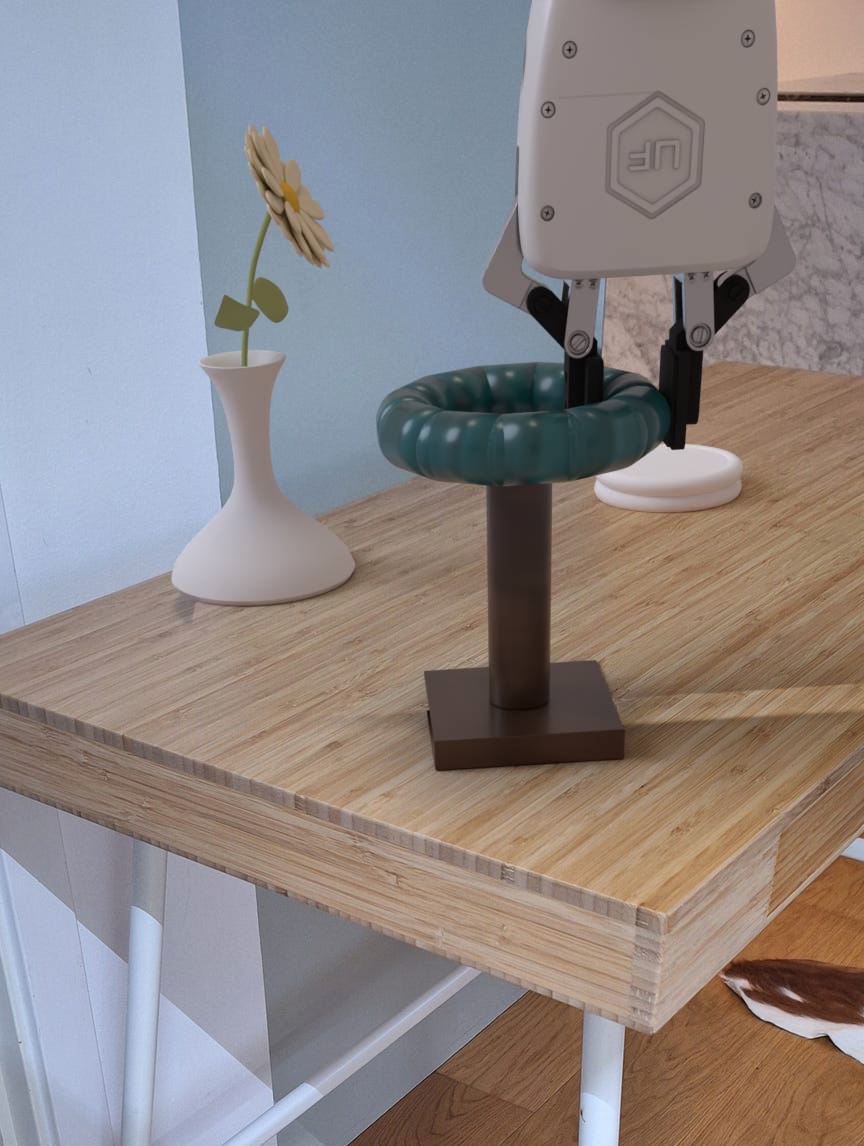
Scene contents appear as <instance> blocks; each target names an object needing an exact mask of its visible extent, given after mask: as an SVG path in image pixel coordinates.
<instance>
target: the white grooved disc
mask: <svg viewBox="0 0 864 1146" xmlns="http://www.w3.org/2000/svg"><path fill="white" fill-rule="evenodd" d="M743 472H744V465H743V461H742V460H741V459H740V458H739V457H738V456H737V455H736V454H735V453H733V452H731V451H729V450H726V449H723V448H718V447H714V446H708V445H701V444H693V443H685V448H684V449H683V450H671V448H670V447H667V446H666V445H665V444H664V443H661V444H660V445H659V446H658V447H656V448H655V449H654V450H652V451H651V452H650V453H648V454H647V455H646V456H644V457H643V458H641V459H640V460H639V461H637V462H636V463H634V464H633V465H631V466H630V467H628V468H625V469H622V470H618V471H613V472H609V473H605V474H601V475H597V476H595V479H596V480H595V483H594V485H593V490H594V495H595V497H596V498H597V499H598V500H599V501H600V502H602V503H604V504H605V505H608V506H611V507H615V508H618V509H622V510H627V511H634V512H643V513H657V514H659V513H661V514H665V513H666V514H667V513H668V514H669V513H673V514H674V513H687V512H688V513H689V512H697V511H704V510H709V509H713V508H717V507H720V506H723V505H727V504H728V503H730V502H732V501H734V500H735V499H737V497H738V496H739V495H740V494H741V490H742V488H743V484H742V480H741V477H742V475H743Z"/></svg>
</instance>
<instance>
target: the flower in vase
mask: <svg viewBox="0 0 864 1146" xmlns="http://www.w3.org/2000/svg"><path fill="white" fill-rule="evenodd" d="M247 128H248V132H245V133H244V142H245V145H244V148H243V149H244V153H245V156H246V158H247V161H248V162H247V166H248V169H249V172H250V174H251V175H252V178H253V180H254V181H255V185H256V188H257V190H258V192H259V194H260V197H261V198H262V199H263V201H264V202H265V203H266V209H267V210H266V213H265V215H264V218H263V221H262V223H261V227H260V229H259V232H258V236H257V239H256V243H255V246H254V249H253V252H252V256H251V261H250V266H249V273H248V280H247V290H246V299H245V304H244V303H241V302H239V301H237V300H235V299H233V298H232V297H231V296H229V295H227V294H223V297H222V299H221V303H220V306H219V308H218V311H217V314H216V317H215V319H214V322H213V323H214V326H215V327H217V328H220V329H225V330H230V331H234V332H242V337H241V350H233V351H226V352H219V353H215V354H211V355H208V356H204V357H203V358H201V359H199V360H198V365H199V367H200V369H202V371H203V372H204V373H205V374H206V376H207V377H208V378H209V380H210V381H211V383H212V384H213V386H214V388H215V390H216V392H217V394H218V396H219V399H220V401H221V404H222V407H223V411H224V413H225V416H226V421H227V426H228V431H229V435H230V442H231V449H232V455H233V456H232V458H233V471H234V472H233V486H232V489H231V493H230V496H229V498H228V499H227V500H226V503H225V504H224V506H222V508H220V510H219V511H218V512H217V513H216V514H215V515H214V516H213V517H212V518H211V520H209V521H208V522H207V523H206V524H205V525H204V527H202V528H201V529H200V531H198V532H197V534H196V535H195V536H194V537H193V538H192V539H191V540H190V541H189V542H188V543H187V544H186V546H185V547H184V548H183V550H182V552H180V554H179V556H178V557H177V558H176V560H175V562H174V564H173V568H172V572H171V576H170V577H171V583H172V585H173V586H174V587H175V588H176V590H177V591H178V593H180V595H182V597H184V598H185V599H186V600H188V601H191V602H193V603H197V602H201V603H206V604H212V605H217V606H230V607H231V606H233V607H256V606H257V607H258V606H269V605H278V604H286V603H292V602H298V601H302V600H306V599H310V598H314V597H317V596H320V595H323V594H325V593H328V592H331V591H333V590H335V589H337V588H339V587H340V586H342V585H343V584H345V583H346V582H347V581H348V580H349V579H350V578H351V576H352V575H353V573H354V571H355V568H356V562H355V560H354V557H353V556H352V553H351V551H350V549H349V547H348V546H347V545H346V544H345V543H344V542H343V541H342V540H341V539H340V538H339V537H338V536H337V535H336V534H335V533H334V532H333V531H331V530H330V529H329V528H328V527H326V526H325V525H323V524H322V523H321V522H319V521H318V520H317V519H315V518H314V517H312V516H311V515H310V514H308V513H307V512H306V511H303V510H302V509H301V508H300V507H298V506H297V505H296V504H294V503H293V502H292V501H291V500H290V499H288V498H287V497H286V495H285V494H284V493H283V492H282V491H281V489H280V487H279V485H278V483H277V481H276V477H275V473H274V470H273V462H272V454H271V440H270V439H271V437H270V418H271V417H270V415H271V405H272V394H273V391H274V387H275V384H276V383H275V382H276V380H277V377H278V375H279V372H280V371H281V369H282V367H283V365H284V363H285V361H286V359H287V355H286V354H285V353H284V352H281V351H276V350H270V349H269V350H268V349H249V334H250V328H251V327H252V326H253V325H254V324H255V322H256V321H257V319H258V318H259V316H260V314H261V313H262V314H263V316H265V317H266V318H267V319H268V321H269V320H270V321H271V322H272V323H274V324H278V323H281V322H282V321H284V320H285V318H286V317H287V316H288V313H289V304H288V302H287V299H286V297H285V295H284V292H283V291H282V290H281V288H280V287H279V286H278V284H277V285H276V283H274V282H273V281H271V280H270V279H268V278H266V277H263V276H258V277H257V278H256V279H255V277H256V271H257V266H258V261H259V258H260V255H261V251H262V247H263V245H264V240H265V238H266V235H267V232H268V229H269V226H270V224H271V221H273V222H274V223H275V224H276V225H277V227H278V228H279V231H280V232H281V234H282V235H283V236H284V238H285V239H286V240H287V241H288V242H289V244H290V246H291V247H292V249H293V250H294V252H295V253H296V254H297V255H298V256H299V257H300V258H303V257H304V259H305V260H306V262H308V263H309V264H310V265H311V266H314V265H315V266H316V267H317V268H319V269H323V266H325V267H326V268H330V267H331V266H330V262H329V260H328V259H327V257H326V254H325V251H326V250H327V251H329V252H332V253H333V252H335V246H334V244H333V242H332V240H331V239H330V237H329V235H328V232H327V231H326V230H325V228H324V227H323V226H322V225H321V224H319V222H318V221H323V220H324V218H325V212H324V210H323V207H321V206H322V205H320V204H319V202H317V201H316V200H315V199H313V198H312V196H311V193H310V191H309V189H308V188H307V187H306V186H305V185H304V184H301V183H302V171H301V169H300V166H299V164H298V163H297V162H296V160H295V159H293V158H289V159H288V160H287V161H286V162H285V161H284V160H281V155H280V150H279V147H278V144H277V142H276V141H275V139H274V137H273V134H272V132H271V130H270V129H269V128H268V126H266V125H264V126H263V127H262V131H261V132H262V133H261V134H259V133H258V130H257V128H256V127H255V125H254V124H252V123H249V124H248V127H247ZM253 301H254V303H255V305H256V307H257V309H256V308H254V307H252V305H253ZM258 309H259V310H258Z"/></svg>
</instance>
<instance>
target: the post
mask: <svg viewBox="0 0 864 1146" xmlns="http://www.w3.org/2000/svg"><path fill="white" fill-rule="evenodd" d="M485 493H486V496H485V497H486V501H485V502H486V562H487V563H486V576H487V577H486V578H487V581H486V582H487V642H488V643H487V645H488V647H487V651H488V653H487V655H488V657H487V659H488V663H487V664H488V666H480V667H478V666H477V667H465V668H464V667H463V668H451V669H450V668H447V669H446V668H445V669H433V670H431V669H430V670H423V678H424V684H425V691H426V698H427V706H428V709H426V715H427V716H426V717H427V721H428V722H427V723H428V730H429V737H430V745H431V750H432V751H431V752H432V758H433V764H434V770H435V771H445V770H461V769H473V768H474V769H475V768H476V769H477V768H478V769H479V768H491V767H508V766H509V767H510V766H525V765H538V764H539V765H540V764H541V765H542V764H556V763H569V762H570V763H571V762H573V763H574V762H587V761H602V760H603V761H604V760H619V759H624V757H625V740H626V739H625V737H626V736H625V735H626V729H625V726H624V724H623V722H622V719H621V716H620V715H619V712H618V710H617V707H616V704H615V703H614V700H613V697H612V695H611V693H610V690H609V687H608V686H607V683H606V680H605V678H604V676H603V674H602V671H601V669H600V666H599V664H598V661H597V659H591V660H590V659H589V660H588V659H587V660H574V661H557V662H556V661H555V662H551V640H552V639H551V633H552V632H551V631H552V630H551V628H552V623H551V622H552V555H553V554H552V552H553V549H552V548H553V547H552V546H553V543H552V542H553V483H548V484H533V485H518V486H486V485H485Z"/></svg>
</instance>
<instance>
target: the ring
mask: <svg viewBox="0 0 864 1146" xmlns="http://www.w3.org/2000/svg"><path fill="white" fill-rule="evenodd" d="M563 392H564V362H553V361H552V362H549V361H530V362H529V361H528V362H514V363H501V364H487V365H475V366H470V367H464V368H460V369H455V370H449V371H444V372H438V373H433V374H428V375H425V376H422V377H420V378H417V379H416V380H414V381H411V382H409V383H407V384H405V385H403V386H400V387H398V388H396V389H394V390H393V391H391V392H389V393H387V395H386V396H385V397H384V398H383V399H382V401H381V402H380V404H379V406H378V409H377V410H376V416H375V426H376V427H375V428H376V434H377V442H378V443H377V444H378V446H379V449H380V452H381V453H382V456H383V457H384V458H385V459H386V460H387V461H388V462H389V464H391V465H393V466H394V467H396V468H399V469H401V470H403V471H406V472H408V473H411V474H415V475H418V476H419V477H420V476H421V477H423V478H427V479H428V480H431V481H435V482H441V483H452V484H463V485H477V486H485V487H486V486H518V485H533V484H548V483H552V484H563V483H569V482H570V483H571V482H575V481H580V480H583V479H588V478H591V477H596V476H597V475H601V474H605V473H609V472H613V471H618V470H622V469H625V468H628V467H630V466H631V465H633V464H634V463H636V462H637V461H639V460H640V459H641V458H643V457H644V456H646V455H647V454H648V453H650V452H651V451H652V450H654V449H655V448H656V447H658V446H659V445H660V444H663V443H662V442H663V440H664V439H665V437H666V435H667V433H668V431H669V428H670V422H671V412H670V408H669V405H668V403H667V401H666V399H665V397H664V396H663V395H662V394H661V393H660V392H659V388H657V386H656V385H655V384H653V382H652V381H651V380H650V379H649V378H648V377H646V376H644V375H643V374H640V373H638V372H633V371H628V370H623V369H619V368H614V367H610V366H605V365H604V381H603V402H598V403H594V404H589V405H584V406H580V407H575V408H570V409H565V410H563Z"/></svg>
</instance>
